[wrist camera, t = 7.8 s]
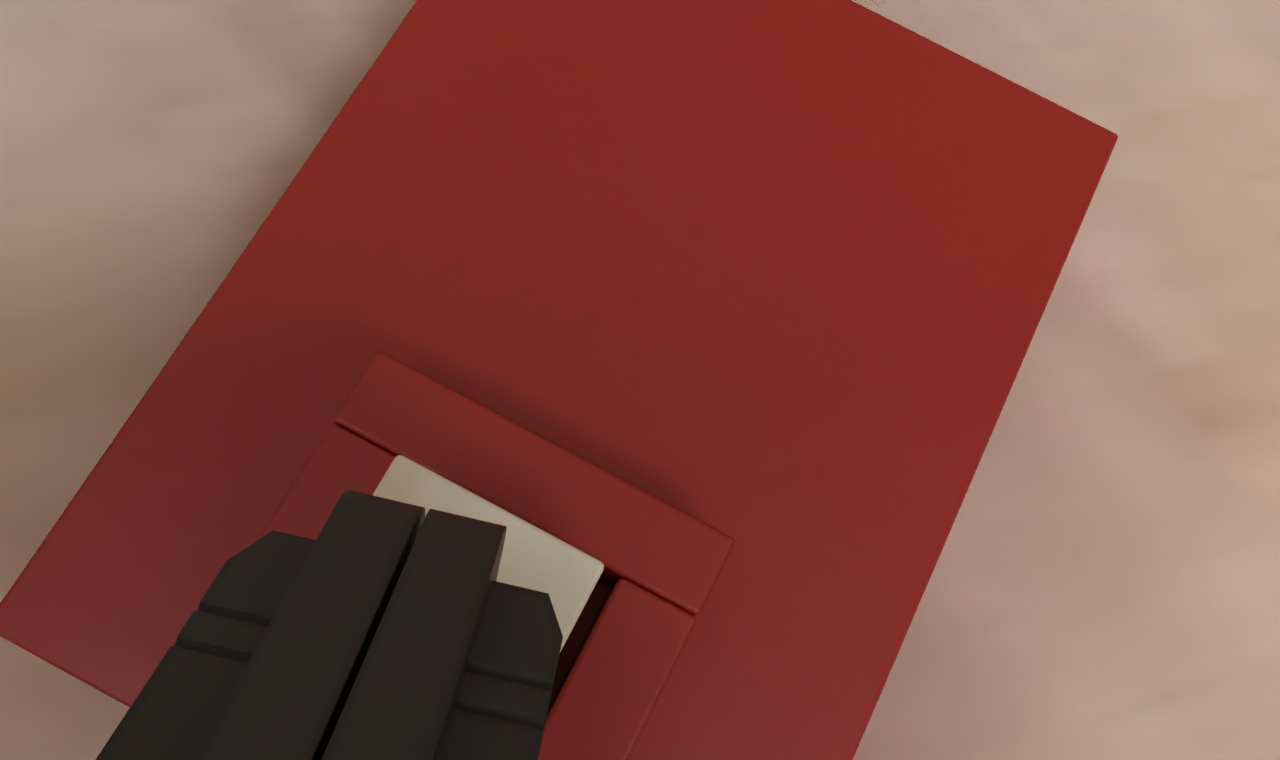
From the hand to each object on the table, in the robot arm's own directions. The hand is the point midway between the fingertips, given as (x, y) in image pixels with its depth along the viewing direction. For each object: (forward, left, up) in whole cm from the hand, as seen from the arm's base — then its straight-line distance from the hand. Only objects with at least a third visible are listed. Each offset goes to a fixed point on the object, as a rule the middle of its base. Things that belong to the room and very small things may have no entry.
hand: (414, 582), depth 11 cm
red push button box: (0, +5, -9) cm, 11 cm away
